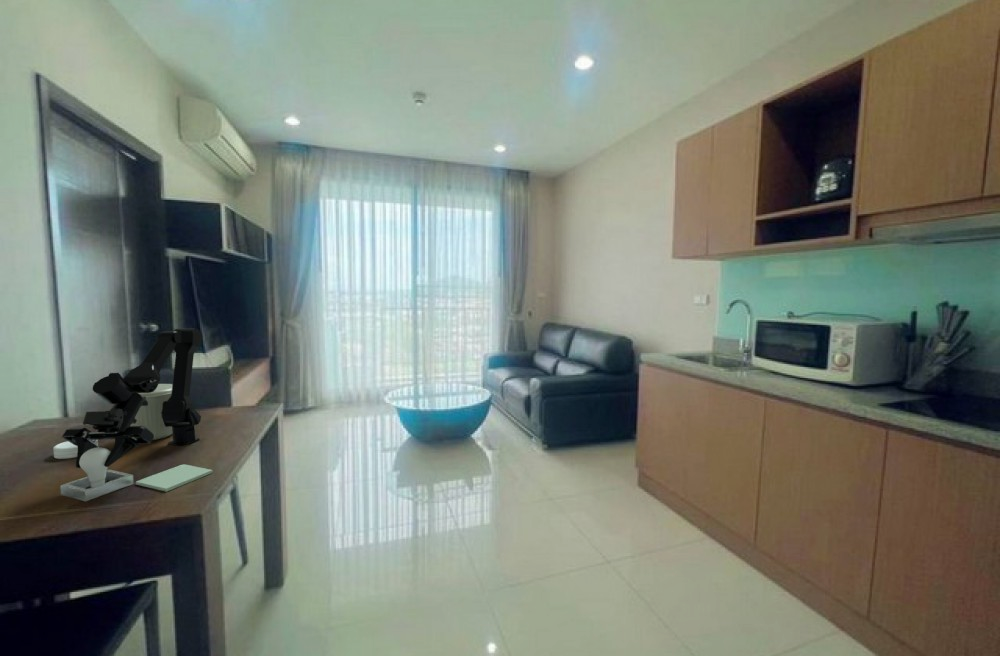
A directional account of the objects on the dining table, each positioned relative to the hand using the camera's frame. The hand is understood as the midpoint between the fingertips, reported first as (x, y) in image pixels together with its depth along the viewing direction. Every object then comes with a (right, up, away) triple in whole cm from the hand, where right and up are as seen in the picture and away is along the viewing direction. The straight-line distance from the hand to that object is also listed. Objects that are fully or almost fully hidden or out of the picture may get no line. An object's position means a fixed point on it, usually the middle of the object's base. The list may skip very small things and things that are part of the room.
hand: (91, 466), depth 104 cm
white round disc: (-31, -5, +26) cm, 41 cm away
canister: (-20, -3, +41) cm, 46 cm away
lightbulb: (0, -7, +2) cm, 7 cm away
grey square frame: (0, -6, +2) cm, 7 cm away
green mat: (+15, -6, +8) cm, 18 cm away
